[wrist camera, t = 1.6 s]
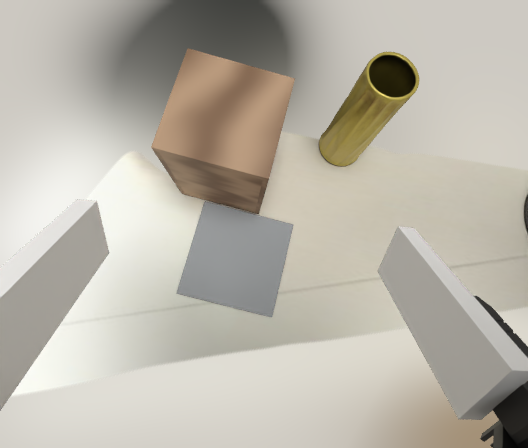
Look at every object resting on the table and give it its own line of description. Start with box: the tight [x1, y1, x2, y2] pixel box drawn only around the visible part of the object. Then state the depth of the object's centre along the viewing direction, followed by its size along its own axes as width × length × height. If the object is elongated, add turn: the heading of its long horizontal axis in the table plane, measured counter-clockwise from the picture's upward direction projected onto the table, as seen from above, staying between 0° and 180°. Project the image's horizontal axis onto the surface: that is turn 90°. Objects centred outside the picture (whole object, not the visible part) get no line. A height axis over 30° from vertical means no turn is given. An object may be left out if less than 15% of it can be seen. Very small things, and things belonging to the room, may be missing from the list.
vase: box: [319, 52, 419, 166], centre depth 33 cm, size 6×6×14 cm
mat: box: [177, 201, 293, 317], centre depth 35 cm, size 12×12×1 cm
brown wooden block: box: [151, 49, 295, 214], centre depth 31 cm, size 10×10×13 cm
